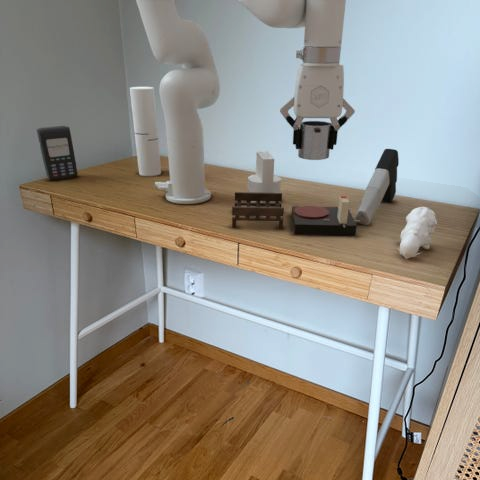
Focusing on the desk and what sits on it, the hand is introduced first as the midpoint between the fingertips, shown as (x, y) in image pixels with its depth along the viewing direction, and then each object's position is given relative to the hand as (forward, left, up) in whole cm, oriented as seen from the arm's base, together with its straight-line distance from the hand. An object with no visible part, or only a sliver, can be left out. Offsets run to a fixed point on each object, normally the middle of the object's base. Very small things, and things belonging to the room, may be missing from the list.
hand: (314, 147), depth 104 cm
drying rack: (-12, +1, -18) cm, 21 cm away
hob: (+3, -2, -18) cm, 18 cm away
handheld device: (+18, +9, -18) cm, 27 cm away
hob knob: (+7, -6, -15) cm, 17 cm away
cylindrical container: (-48, +43, -18) cm, 66 cm away
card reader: (-74, +35, -18) cm, 83 cm away
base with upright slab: (-11, +17, -18) cm, 26 cm away
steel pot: (0, 0, -2) cm, 2 cm away
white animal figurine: (+21, -17, -18) cm, 32 cm away
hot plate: (+1, 0, -15) cm, 15 cm away
